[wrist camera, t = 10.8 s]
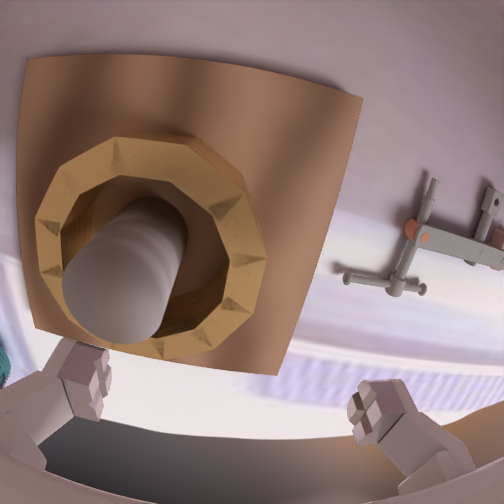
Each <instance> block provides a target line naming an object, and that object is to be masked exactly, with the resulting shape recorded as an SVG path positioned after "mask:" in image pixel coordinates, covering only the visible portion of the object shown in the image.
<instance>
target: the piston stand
mask: <svg viewBox="0 0 504 504" xmlns="http://www.w3.org/2000/svg"><path fill="white" fill-rule="evenodd" d="M362 102H363V98H361V97H358V96H355V95H352V94H349V93H346V92H343V91H340V90H337V89H334V88H331V87H327V86H324V85H321V84H317V83H314V82H310V81H306V80H303V79H299V78H295V77H291V76H287V75H283V74H278V73H274V72H270V71H265V70H260V69H255V68H250V67H245V66H239V65H234V64H228V63H221V62H215V61H207V60H200V59H191V58H182V57H171V56H158V55H139V54H84V55H66V56H54V57H44V58H35V59H28V60H27V65H26V70H25V76H24V82H23V88H22V95H21V103H20V112H19V122H18V135H17V155H16V195H17V215H18V228H19V239H20V248H21V256H22V263H23V270H24V276H25V282H26V288H27V293H28V298H29V303H30V308H31V312H32V317H33V321H34V325H35V328H37V329H40V330H43V331H46V332H50V333H53V334H56V335H60V336H63V337H66V338H70V339H73V340H77V341H81V342H84V343H88V344H92V345H96V346H100V347H104V348H108V349H111V348H109V347H108V346H106V345H105V344H103V343H102V342H100V341H99V340H97V339H96V338H94V337H93V336H91V335H90V334H88V333H87V332H86V331H84V330H83V329H81V328H80V327H79V326H77V325H76V324H74V323H73V322H72V321H70V320H69V319H68V318H67V316H66V315H65V313H64V312H63V310H62V309H61V307H60V306H59V304H58V302H57V301H56V299H55V298H54V296H53V294H52V293H51V291H50V289H49V288H48V286H47V284H46V283H45V281H44V279H43V277H42V276H41V274H40V270H39V262H38V253H37V243H36V230H35V216H36V214H37V212H38V210H39V207H40V205H41V203H42V201H43V199H44V197H45V194H46V192H47V190H48V188H49V186H50V184H51V182H52V180H53V178H54V176H55V174H56V172H57V171H58V169H59V167H60V166H62V165H63V164H65V163H67V162H68V161H70V160H72V159H74V158H75V157H77V156H79V155H81V154H83V153H84V152H86V151H88V150H90V149H92V148H94V147H95V146H97V145H99V144H101V143H103V142H105V141H107V140H109V139H111V138H113V137H115V136H119V135H123V134H127V133H132V132H136V131H141V130H145V131H153V132H161V133H169V134H177V135H184V136H191V137H197V138H199V139H201V140H202V141H203V142H204V143H206V144H207V145H208V146H209V147H211V148H212V149H213V150H214V151H215V152H217V153H218V154H219V155H220V156H221V157H223V158H224V159H225V160H226V161H227V162H229V163H230V164H231V165H232V166H233V167H235V168H236V169H237V170H238V171H239V172H241V173H242V174H243V175H244V178H245V181H246V184H247V187H248V190H249V193H250V195H251V198H252V201H253V204H254V207H255V210H256V213H257V216H258V219H259V222H260V225H261V228H262V233H263V238H264V243H265V248H266V253H267V258H268V259H267V262H266V266H265V270H264V274H263V278H262V282H261V286H260V290H259V293H258V297H257V301H256V305H255V309H254V312H253V315H251V316H250V317H249V318H248V319H247V320H246V321H245V322H244V323H243V324H242V325H240V326H239V327H238V328H237V329H236V330H235V331H234V332H233V333H232V334H230V335H229V336H228V337H227V338H226V339H225V340H224V341H223V342H222V343H220V344H219V345H218V346H217V347H216V348H215V349H212V350H208V351H204V352H200V353H195V354H191V355H187V356H182V357H178V358H173V359H168V360H164V361H170V362H175V363H181V364H187V365H193V366H200V367H206V368H213V369H221V370H228V371H237V372H245V373H255V374H265V375H276V376H277V374H278V372H279V369H280V367H281V364H282V362H283V359H284V356H285V354H286V351H287V348H288V346H289V343H290V340H291V338H292V335H293V332H294V330H295V327H296V324H297V321H298V319H299V316H300V313H301V310H302V307H303V304H304V302H305V299H306V296H307V293H308V290H309V287H310V284H311V281H312V278H313V275H314V272H315V269H316V266H317V263H318V260H319V257H320V254H321V251H322V247H323V244H324V241H325V238H326V235H327V231H328V228H329V225H330V222H331V218H332V215H333V212H334V208H335V205H336V201H337V198H338V194H339V191H340V187H341V184H342V180H343V177H344V173H345V169H346V166H347V162H348V158H349V155H350V151H351V147H352V143H353V139H354V135H355V131H356V127H357V123H358V119H359V115H360V111H361V106H362ZM226 255H227V251H226V249H225V246H224V244H223V241H222V239H221V236H220V234H219V231H218V229H217V226H216V224H215V221H214V219H213V216H212V215H211V214H210V213H209V212H207V211H206V210H205V209H204V208H202V207H201V206H200V205H199V204H197V203H196V202H195V201H194V200H192V199H191V198H190V197H189V196H187V195H186V194H185V193H184V192H182V191H181V190H180V189H179V188H177V187H176V186H175V185H173V184H172V183H171V182H168V181H161V180H154V179H147V178H140V177H133V176H126V175H118V176H116V177H114V178H112V179H110V180H108V181H107V183H106V184H105V186H104V187H103V189H102V191H101V192H100V194H99V195H98V197H97V199H96V200H95V202H94V204H93V205H92V239H91V240H90V241H89V242H88V243H87V244H86V245H85V246H84V248H83V249H82V250H81V251H80V252H79V253H78V254H77V255H76V256H75V257H74V258H73V259H72V260H71V261H70V262H69V264H68V265H67V267H66V269H65V271H64V273H63V278H62V292H63V297H64V300H65V303H66V305H67V307H68V309H69V311H70V313H71V314H72V316H73V317H74V318H75V319H76V321H77V322H78V323H79V324H80V325H81V326H82V327H83V328H85V329H86V330H87V331H88V332H90V333H91V334H93V335H95V336H96V337H98V338H100V339H103V340H105V341H108V342H112V343H117V344H134V343H138V342H142V341H144V340H146V339H148V338H149V337H151V336H152V335H153V334H154V333H155V332H156V331H157V329H158V328H159V326H160V324H161V322H162V319H163V315H164V312H165V309H166V306H167V303H168V299H169V298H171V297H174V296H178V295H181V294H184V293H188V292H191V291H195V290H198V289H201V288H202V287H203V286H204V285H205V284H206V283H207V282H208V281H209V280H210V279H211V278H212V277H213V276H214V275H215V274H216V273H217V271H218V270H219V269H220V268H221V267H222V266H223V265H224V264H225V260H226Z"/></svg>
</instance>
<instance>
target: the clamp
mask: <svg viewBox="0 0 504 504" xmlns="http://www.w3.org/2000/svg"><path fill="white" fill-rule="evenodd" d="M438 182H439V181H438V180H436V179H434V178H432V180H431V183H430V186H429V189H428V191H427V193H426V196H424V199H423V202H422V205H421V208H420V211H419V214H418V216H417V219H416V220H415V219H412V218H411V219H409V220H408V221H407V222H406V224H405V226H404V234H405V236H406V237H407V238H409V241H408V244H407V246H406V249H405V251H404V254H403V256H402V259H401V261H400V264H399V266H398V268H397V271H396V273H392V274H391V276H390V278H389V281H388V280H382V279H376V278H370V277H364V276H357V275H352V274H351V272H350V271H346V272H345V273H344V275H343V283H344V284H345V285H348V284H350V282H352V283H359V284H366V285H372V286H379V287H386V288H385V290H386V292H387V293H388V294H389V295H390V296H393V297H399V296H400V295H401V293H402V291H403V290H406V291H413V292H418V294H419V295H421V296H423V295H425V293H426V291H427V286H426V284H424V283H421V284H420V285H413V284H407V283H406V282H407V279H406V278H405V276H406V274H407V271H408V269H409V267H410V264H411V262H412V259H413V257H414V255H415V252H416V250H417V247H418V248H422V249H426V250H430V251H434V252H438V253H442V254H445V255H449V256H453V257H457V258H461V259H464V261H465V262H466V263H467V264H469V265H471V266H475V264H476V263H479V264H483V265H486V266H489V267H491V268H492V269H494V270H498V271H500V270H503V269H504V232H503V231H502V230H500V229H498V228H496V229H495V230H494V232H493V234H492V237H491V239H490V242H485V243H484V240H485V238H486V235H487V233H488V230H489V227H490V225H491V222H492V219H493V216H496V217H497V215H498V213H499V210H500V207H501V204H502V201H503V197H504V195H503V193H501V192H500V191H498V190H496V189H493V188H491V187H487V190H486V193H485V196H484V199H483V203H482V206H481V208H480V209H482V210H484V211H483V214H482V217H481V219H480V222H479V225H478V228H477V230H476V233H475V235H474V238H471V237H469V238H466V237H463V236H460V235H457V234H454V233H451V232H448V231H445V230H442V229H439V228H436V227H432V226H429V225H426V223H427V221H428V218H429V215H430V212H431V209H432V206H433V204H434V201H435V200H434V197H435V192H436V188H437V185H438Z"/></svg>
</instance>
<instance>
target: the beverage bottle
mask: <svg viewBox="0 0 504 504" xmlns="http://www.w3.org/2000/svg"><path fill="white" fill-rule="evenodd" d="M10 369H11V365H10V361H9V359H8V357H7V355H6V353H5V352H4V350H3V349H2V348H1V346H0V389H2V388H1V387H2V385H3V384H4V385H5V383H6V382H5V380H8V379H7V377H8V375H9V373H10ZM4 385H3V386H4Z"/></svg>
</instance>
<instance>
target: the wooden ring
mask: <svg viewBox="0 0 504 504" xmlns="http://www.w3.org/2000/svg"><path fill="white" fill-rule="evenodd" d="M118 175H126V176H133V177H140V178H147V179H154V180H161V181H168V182H171V183H172V184H173V185H175V186H176V187H177V188H179V189H180V190H181V191H182V192H184V193H185V194H186V195H187V196H189V197H190V198H191V199H192V200H194V201H195V202H196V203H197V204H199V205H200V206H201V207H202V208H204V209H205V210H206V211H207V212H209V213H210V214H211V215H212V216H213V219H214V221H215V224H216V226H217V229H218V231H219V234H220V236H221V239H222V241H223V244H224V246H225V249H226V251H227V255H226V260H225V264H224V265H223V266H222V267H221V268H220V269H219V270H218V271H217V273H216V274H215V275H214V276H213V277H212V278H211V279H210V280H209V281H208V282H207V283H206V284H205V285H204V286H203V287H202V288H201V289H198V290H195V291H191V292H188V293H184V294H181V295H178V296H174V297H171V298H169V299H168V303H167V306H166V309H165V312H164V315H163V319H162V322H161V324H160V326H159V328H158V329H157V331H156V332H155V333H154V334H153V335H152V336H151V337H149V338H148V339H146V340H144V341H142V342H138V343H134V344H117V343H112V342H108V341H105V340H103V339H100V338H98V337H96V336H95V335H93V334H91V333H90V332H88V331H87V330H86V329H85V328H83V327H82V326H81V325H80V324H79V323H78V322H77V321H76V319H75V318H74V317H73V316H72V314H71V313H70V311H69V309H68V307H67V305H66V303H65V300H64V297H63V292H62V278H63V273H64V271H65V269H66V267H67V265H68V264H69V262H70V261H71V260H72V259H73V258H74V257H75V256H76V255H77V254H78V253H79V252H80V251H81V250H82V249H83V248H84V246H85V245H86V244H87V243H88V242H89V241H90V240H91V239H92V205H93V204H94V202H95V200H96V199H97V197H98V195H99V194H100V192H101V191H102V189H103V187H104V186H105V184H106V183H107V181H108V180H110V179H112V178H114V177H116V176H118ZM35 230H36V243H37V253H38V262H39V270H40V274H41V276H42V277H43V279H44V281H45V283H46V284H47V286H48V288H49V289H50V291H51V293H52V294H53V296H54V298H55V299H56V301H57V302H58V304H59V306H60V307H61V309H62V310H63V312H64V313H65V315H66V316H67V318H68V319H69V320H70V321H72V322H73V323H74V324H76V325H77V326H79V327H80V328H81V329H83V330H84V331H86V332H87V333H88V334H90V335H91V336H93V337H94V338H96V339H97V340H99V341H100V342H102V343H103V344H105V345H106V346H108V347H109V348H111V349H112V350H116V351H120V352H125V353H129V354H134V355H139V356H143V357H148V358H153V359H158V360H168V359H173V358H178V357H182V356H187V355H191V354H195V353H200V352H204V351H208V350H212V349H215V348H216V347H217V346H218V345H219V344H220V343H222V342H223V341H224V340H225V339H226V338H227V337H228V336H229V335H230V334H232V333H233V332H234V331H235V330H236V329H237V328H238V327H239V326H240V325H242V324H243V323H244V322H245V321H246V320H247V319H248V318H249V317H250V316H251V315H253V312H254V309H255V305H256V301H257V297H258V293H259V290H260V286H261V282H262V278H263V274H264V270H265V266H266V262H267V259H268V258H267V253H266V248H265V243H264V238H263V233H262V228H261V225H260V222H259V219H258V216H257V213H256V210H255V207H254V204H253V201H252V198H251V195H250V193H249V190H248V187H247V184H246V181H245V178H244V175H243V174H242V173H241V172H239V171H238V170H237V169H236V168H235V167H233V166H232V165H231V164H230V163H229V162H227V161H226V160H225V159H224V158H223V157H221V156H220V155H219V154H218V153H217V152H215V151H214V150H213V149H212V148H211V147H209V146H208V145H207V144H206V143H204V142H203V141H202V140H201V139H199V138H197V137H191V136H184V135H177V134H169V133H161V132H153V131H145V130H141V131H136V132H132V133H127V134H123V135H119V136H115V137H113V138H111V139H109V140H107V141H105V142H103V143H101V144H99V145H97V146H95V147H94V148H92V149H90V150H88V151H86V152H84V153H83V154H81V155H79V156H77V157H75V158H74V159H72V160H70V161H68V162H67V163H65V164H63V165H62V166H60V167H59V169H58V171H57V172H56V174H55V176H54V178H53V180H52V182H51V184H50V186H49V188H48V190H47V192H46V194H45V197H44V199H43V201H42V203H41V205H40V207H39V210H38V212H37V214H36V216H35Z"/></svg>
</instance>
